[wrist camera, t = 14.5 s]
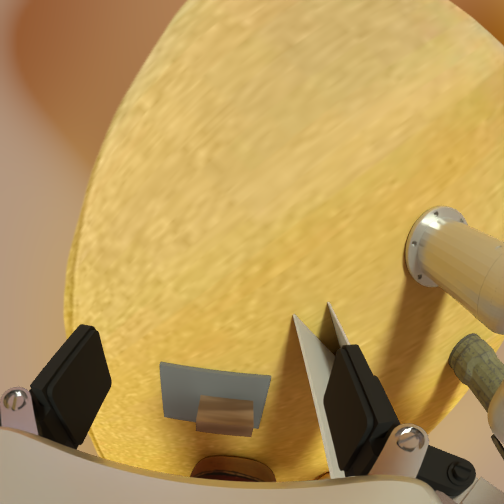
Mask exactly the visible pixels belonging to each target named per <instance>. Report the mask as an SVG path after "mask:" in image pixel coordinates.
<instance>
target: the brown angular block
mask: <svg viewBox="0 0 504 504" xmlns="http://www.w3.org/2000/svg"><path fill="white" fill-rule="evenodd" d="M253 428H254V416H253V401H250V400H239V399H229V398H221V397H213V396H205V395H201V396H200V401H199V407H198V413H197V418H196V431H200V432H207V433H215V434H224V435H234V436H246V437H251V435H252V431H253Z"/></svg>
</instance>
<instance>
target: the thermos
mask: <svg viewBox="0 0 504 504" xmlns="http://www.w3.org/2000/svg"><path fill="white" fill-rule="evenodd" d="M449 365H450V367H451V368H452V369H453V370H454V372H455V374H456V376H457V377H458V378H459V380H460V381H461V382H462V383H463V384H465V385H467V386H468V387H469V388H470V389H471V391H472V392H473V393H474V395H475V396H476V398H477V399H478V400H479V401H480V403H481V404H482V406H483V407H484V408H485V410H486V411H487V413H488V408H489V405H490V402H491V400H492V398H493V396H494V394H495V392H496V391H497V389H498V387H499V386H500V384H501V382H502V380H503V379H504V364H503V363H502V362H501V361H500V360H499V359H498V358H497V356H496V354H495V352H494V350H493V349H492V348H491V347H490V346H489V345H488V344H487V343H486V342H485V341H484V340H482V339H481V338H480V337H479V336H478V335H477V334H473V333H472V334H469V335H467V336H466V337H464V338H463V339H462V340H460V341H459V342H458V343H457V345H456V346H455V347H454V349H453V350H452V352H451V354H450V357H449ZM491 438H492V440H493V443H494V444H495V446H496V447H497V449H498V451H499V453H500V454H501V456H502V458H503V459H504V448H503V446H502V444H501V443H500V441H499V440H498V439H497V438H496V436H495V435H494V434H493V435H492V436H491Z"/></svg>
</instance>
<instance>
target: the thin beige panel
mask: <svg viewBox="0 0 504 504" xmlns="http://www.w3.org/2000/svg"><path fill="white" fill-rule="evenodd" d="M327 303H328V307H329V310H330V313H331V317H332V320H333V324H334V328H335V331H336V335H337V338H338V342H339V346H340V349H341V348H342V346H343V345H350V343H349V341H348V339H347V337H346V334H345V332H344V330H343V328H342V326H341V324H340V322H339V320H338V318H337V316H336V314H335V312H334V310H333V308H332V306H331V304H330V302H327ZM293 318H294V322H295V326H296V330H297V334H298V338H299V342H300V346H301V350H302V354H303V358H304V362H305V366H306V371H307V375H308V379H309V383H310V387H311V392H312V396H313V400H314V404H315V409H316V413H317V417H318V422H319V426H320V431H321V435H322V440H323V444H324V449H325V453H326V458H327V462H328V467H329V472H330V476H331V479H335V478H344V477H345V474H344V471H340V469H339V467H338V462H337V458H336V454H335V450H334V445H333V441H332V437H331V433H330V429H329V425H328V421H327V417H326V413H325V409H324V405H323V398H324V394H325V391H326V388H327V384H328V381H329V377H330V374H331V370H332V367H333V363H334V360H335V356H334V355H333V354H332V353H331V351H330V350H329V349H328V348H327V347H326V346H325V345H324V344H323V343H322V342H321V341H320V340H319V339H318V338H317V337H316V336H315V335H314V334H313V333H312V332H311V331H310V330H309V329H308V327H307V326H306V325H305V324H304V323H303V322H302V321H301V320H300V319H299V318H298V317H297V316H296V315H295V314H293ZM352 477H355V476H352Z"/></svg>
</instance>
